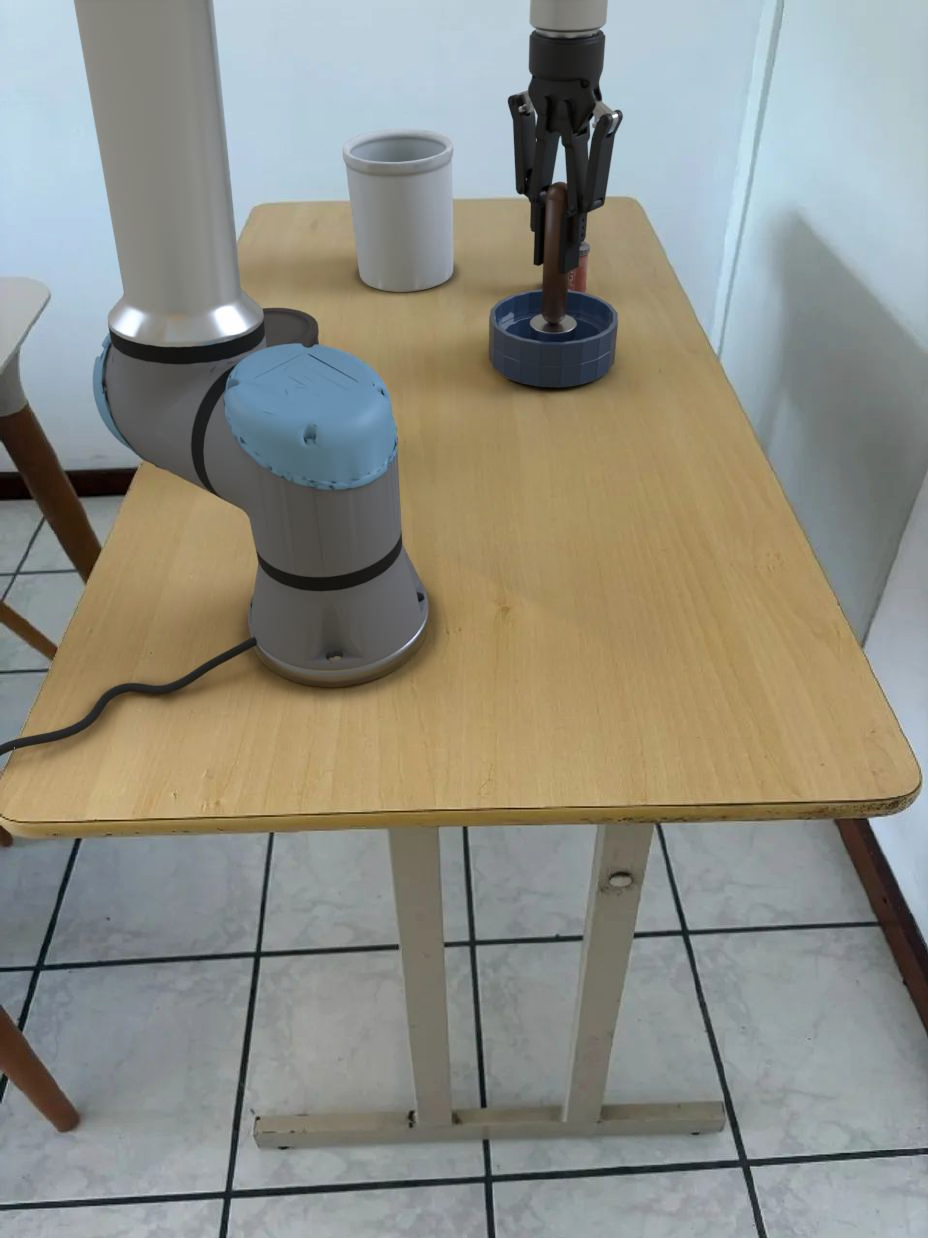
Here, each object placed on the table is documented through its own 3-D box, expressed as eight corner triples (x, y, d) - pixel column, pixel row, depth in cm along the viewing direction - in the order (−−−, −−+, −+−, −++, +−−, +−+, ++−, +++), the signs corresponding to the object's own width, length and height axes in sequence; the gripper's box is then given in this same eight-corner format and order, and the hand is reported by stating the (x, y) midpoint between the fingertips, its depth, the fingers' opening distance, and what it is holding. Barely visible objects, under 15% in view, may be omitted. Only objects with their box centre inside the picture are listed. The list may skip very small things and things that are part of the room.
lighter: (592, 300, 131) (597, 226, 124) (572, 307, 130) (577, 232, 123) (555, 281, 136) (558, 209, 129) (536, 287, 135) (539, 214, 128)
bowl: (562, 405, 110) (565, 356, 106) (464, 365, 118) (463, 318, 114) (637, 358, 118) (643, 311, 114) (541, 323, 126) (542, 278, 122)
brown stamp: (556, 350, 113) (565, 194, 101) (520, 336, 115) (524, 183, 104) (585, 333, 116) (596, 180, 104) (548, 320, 119) (555, 170, 107)
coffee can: (263, 422, 108) (242, 301, 99) (348, 435, 106) (334, 313, 96) (219, 470, 101) (192, 345, 91) (309, 485, 98) (290, 358, 89)
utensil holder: (382, 303, 131) (372, 168, 120) (337, 267, 141) (324, 138, 129) (474, 280, 137) (474, 148, 125) (425, 246, 146) (420, 121, 135)
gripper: (657, 33, 92) (632, 273, 108) (528, 13, 100) (522, 239, 116) (612, 46, 88) (593, 294, 104) (481, 25, 96) (481, 258, 112)
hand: (555, 265), depth 110 cm, fingers closed on brown stamp, 3 cm apart
